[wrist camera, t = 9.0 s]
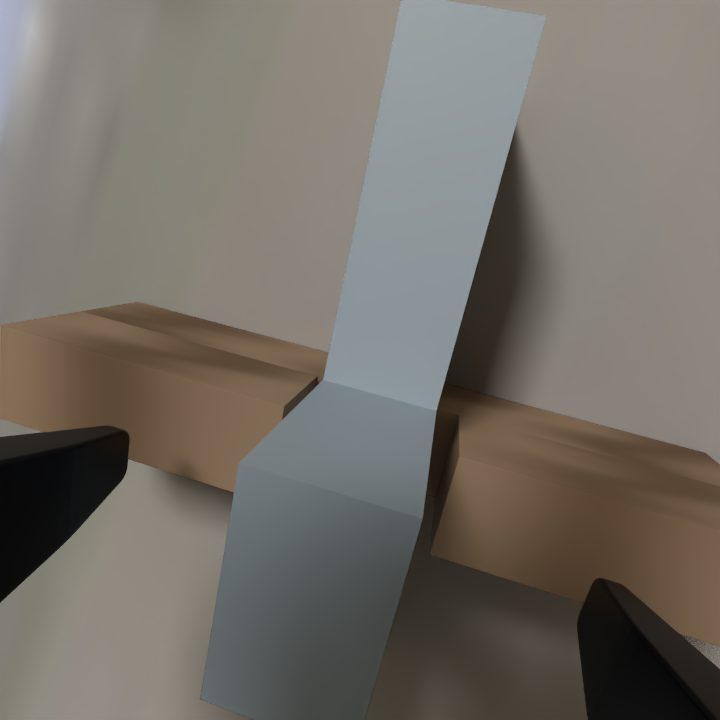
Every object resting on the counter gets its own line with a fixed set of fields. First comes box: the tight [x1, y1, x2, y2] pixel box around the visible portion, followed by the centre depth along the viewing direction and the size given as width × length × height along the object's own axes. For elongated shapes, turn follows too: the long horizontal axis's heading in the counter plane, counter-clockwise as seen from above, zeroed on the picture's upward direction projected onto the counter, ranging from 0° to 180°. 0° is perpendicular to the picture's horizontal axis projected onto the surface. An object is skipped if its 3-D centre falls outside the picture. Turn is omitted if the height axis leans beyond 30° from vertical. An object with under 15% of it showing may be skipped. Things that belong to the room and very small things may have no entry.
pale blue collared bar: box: [200, 0, 546, 720], centre depth 11 cm, size 18×2×9 cm, turn 168°
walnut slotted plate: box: [0, 302, 720, 646], centre depth 13 cm, size 18×2×5 cm, turn 78°
